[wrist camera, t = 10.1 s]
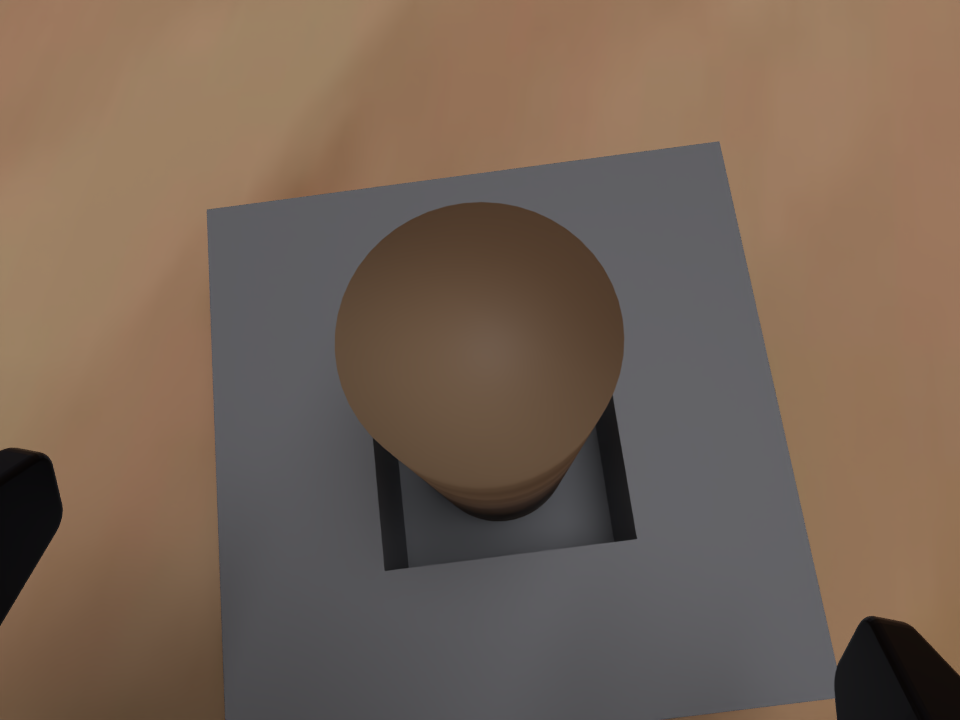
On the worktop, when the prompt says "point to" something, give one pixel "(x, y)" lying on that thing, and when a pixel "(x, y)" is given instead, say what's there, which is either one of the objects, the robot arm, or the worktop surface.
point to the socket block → (539, 535)
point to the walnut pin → (481, 352)
